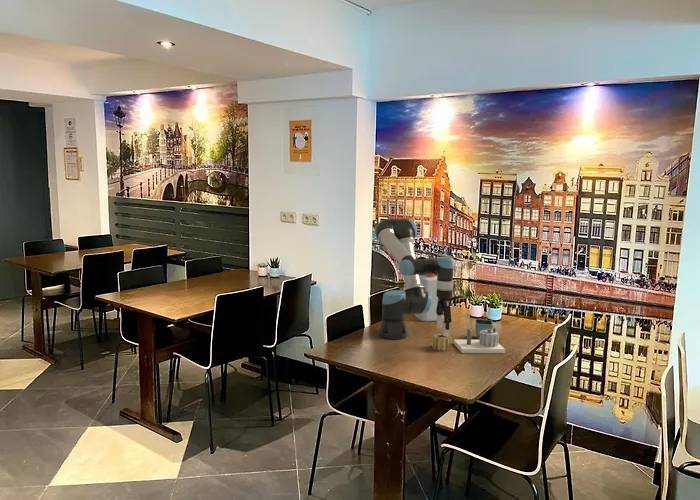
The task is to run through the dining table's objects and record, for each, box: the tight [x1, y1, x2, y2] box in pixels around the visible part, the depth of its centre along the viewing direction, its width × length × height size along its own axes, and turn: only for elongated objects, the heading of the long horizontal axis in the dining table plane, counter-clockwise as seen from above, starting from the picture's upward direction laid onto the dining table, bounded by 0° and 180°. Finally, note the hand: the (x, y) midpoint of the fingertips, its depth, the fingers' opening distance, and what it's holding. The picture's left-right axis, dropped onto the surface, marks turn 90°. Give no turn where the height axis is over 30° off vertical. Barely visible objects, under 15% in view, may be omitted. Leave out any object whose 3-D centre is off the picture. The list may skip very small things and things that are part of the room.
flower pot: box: [474, 318, 494, 340], centre depth 273 cm, size 9×9×9 cm
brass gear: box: [431, 333, 452, 352], centre depth 255 cm, size 9×9×6 cm
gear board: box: [453, 327, 506, 354], centre depth 257 cm, size 21×15×10 cm
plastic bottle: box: [414, 274, 438, 322], centre depth 309 cm, size 15×15×28 cm
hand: (442, 332), depth 254 cm, fingers open, 13 cm apart
